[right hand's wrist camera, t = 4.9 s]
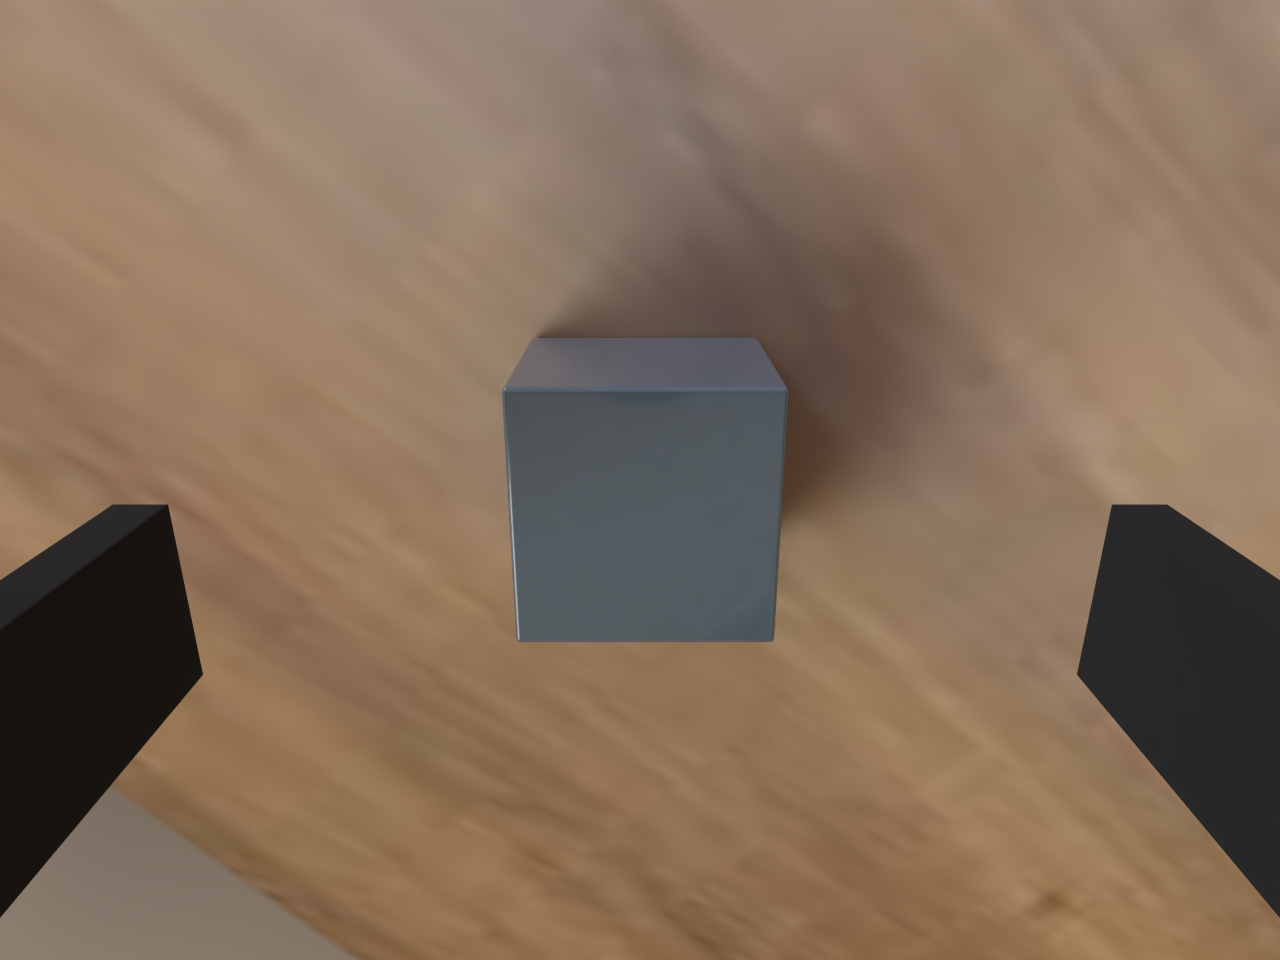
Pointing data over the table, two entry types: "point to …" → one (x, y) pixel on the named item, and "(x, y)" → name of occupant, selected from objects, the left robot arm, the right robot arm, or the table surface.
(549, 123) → the table surface
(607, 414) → the cube
